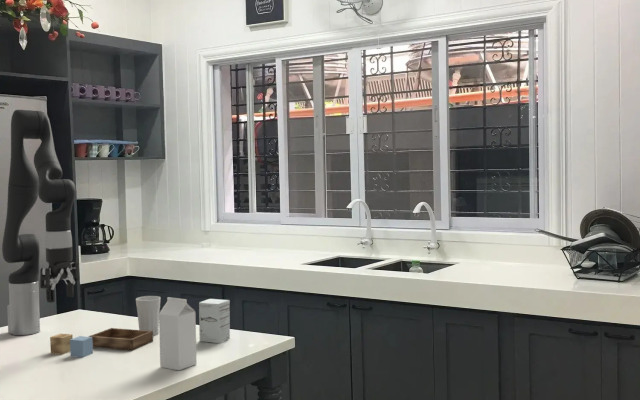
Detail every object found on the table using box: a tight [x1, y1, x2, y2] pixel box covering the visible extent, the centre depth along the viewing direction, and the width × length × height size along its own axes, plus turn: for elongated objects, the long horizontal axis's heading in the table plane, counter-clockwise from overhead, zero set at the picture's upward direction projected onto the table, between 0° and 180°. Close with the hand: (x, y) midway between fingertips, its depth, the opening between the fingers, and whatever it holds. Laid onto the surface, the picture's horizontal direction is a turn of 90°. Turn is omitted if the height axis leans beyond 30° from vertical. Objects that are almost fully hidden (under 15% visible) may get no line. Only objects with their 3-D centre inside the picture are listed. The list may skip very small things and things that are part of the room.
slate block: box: [69, 335, 94, 358], centre depth 211 cm, size 4×4×5 cm
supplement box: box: [198, 298, 231, 344], centre depth 226 cm, size 7×7×13 cm
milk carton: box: [158, 296, 198, 371], centre depth 197 cm, size 7×7×19 cm
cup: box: [135, 295, 161, 337], centre depth 235 cm, size 8×8×12 cm
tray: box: [87, 327, 154, 352], centre depth 222 cm, size 16×12×3 cm
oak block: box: [49, 333, 73, 355], centre depth 214 cm, size 4×4×5 cm
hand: (60, 299), depth 214 cm, fingers open, 8 cm apart
